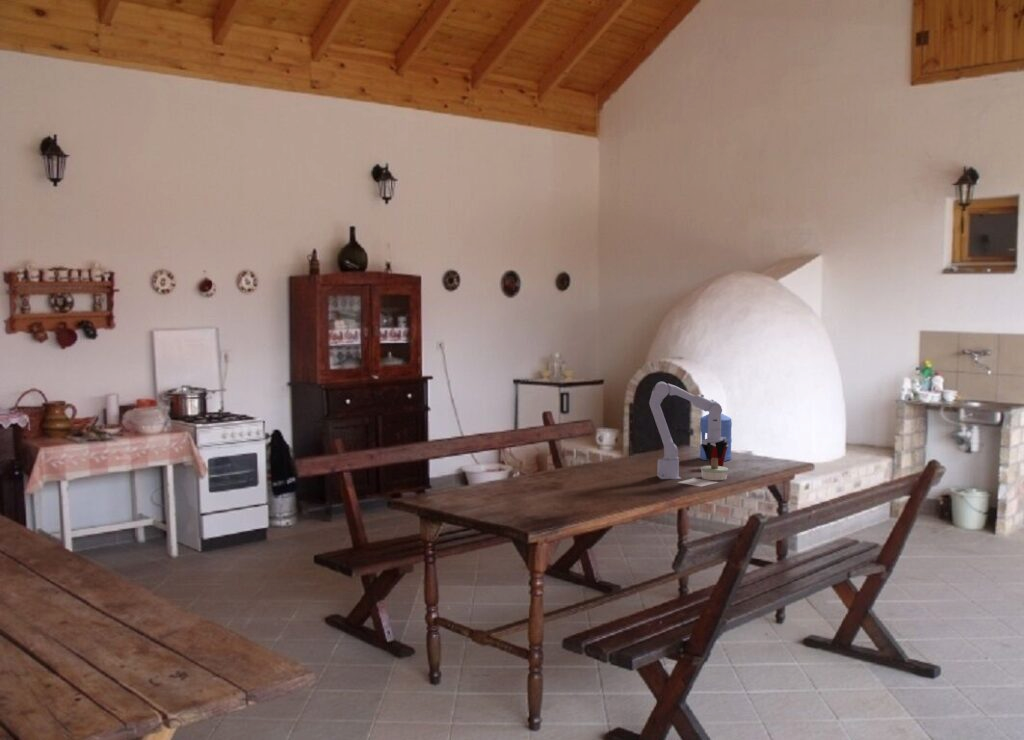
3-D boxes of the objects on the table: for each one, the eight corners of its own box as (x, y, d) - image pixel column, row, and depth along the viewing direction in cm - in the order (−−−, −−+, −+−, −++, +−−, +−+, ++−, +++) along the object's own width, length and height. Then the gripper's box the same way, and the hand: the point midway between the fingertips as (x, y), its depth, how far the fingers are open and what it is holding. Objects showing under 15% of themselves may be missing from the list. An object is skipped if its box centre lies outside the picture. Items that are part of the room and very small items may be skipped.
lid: (704, 474, 412) (704, 461, 412) (697, 469, 425) (697, 456, 424) (732, 474, 413) (732, 460, 413) (723, 469, 426) (724, 455, 425)
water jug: (726, 456, 477) (726, 402, 475) (735, 461, 462) (735, 405, 460) (696, 456, 476) (696, 402, 474) (704, 462, 461) (705, 406, 459)
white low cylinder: (705, 481, 414) (705, 472, 413) (698, 476, 425) (699, 468, 424) (729, 480, 414) (729, 472, 414) (722, 476, 425) (722, 467, 425)
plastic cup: (730, 469, 440) (731, 444, 439) (707, 469, 441) (708, 445, 440) (725, 465, 451) (726, 441, 450) (703, 465, 451) (703, 441, 450)
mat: (701, 487, 401) (701, 486, 401) (676, 483, 410) (676, 482, 410) (718, 483, 409) (718, 482, 409) (694, 479, 419) (694, 478, 419)
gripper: (711, 431, 410) (710, 461, 411) (731, 428, 419) (731, 457, 420) (698, 429, 415) (698, 459, 416) (719, 426, 424) (719, 455, 426)
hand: (714, 458), depth 419 cm, fingers open, 7 cm apart
